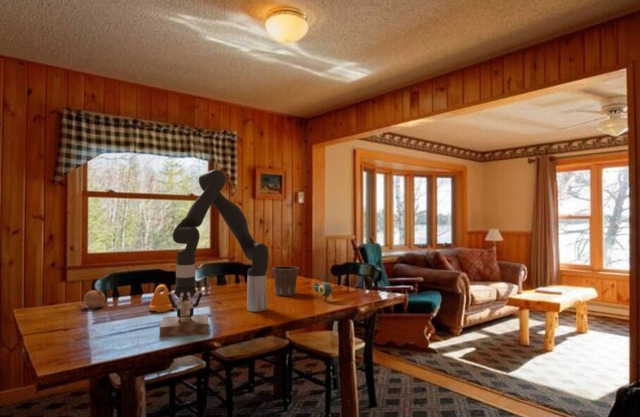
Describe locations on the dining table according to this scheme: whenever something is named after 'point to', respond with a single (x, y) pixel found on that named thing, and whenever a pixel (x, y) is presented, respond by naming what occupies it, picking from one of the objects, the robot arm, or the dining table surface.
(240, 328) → the dining table surface
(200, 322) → the board
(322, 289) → the decorative fish
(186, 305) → the peg
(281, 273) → the plant pot
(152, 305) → the bracket
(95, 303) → the onion
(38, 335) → the dining table surface
